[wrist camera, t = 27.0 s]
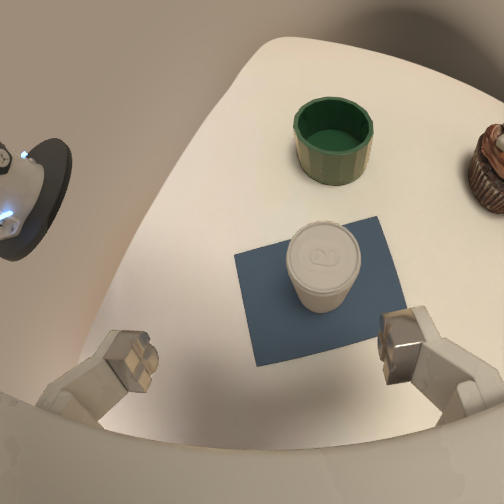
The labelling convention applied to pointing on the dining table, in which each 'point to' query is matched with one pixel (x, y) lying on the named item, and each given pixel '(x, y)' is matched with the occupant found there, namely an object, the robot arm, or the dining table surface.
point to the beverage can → (323, 264)
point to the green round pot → (333, 139)
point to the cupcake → (489, 169)
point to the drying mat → (302, 319)
